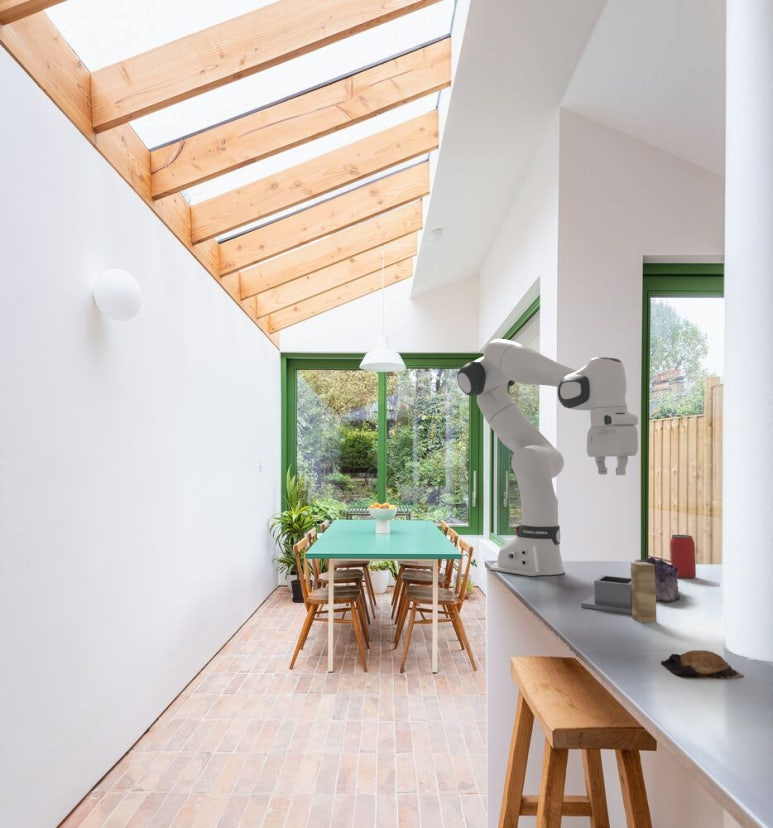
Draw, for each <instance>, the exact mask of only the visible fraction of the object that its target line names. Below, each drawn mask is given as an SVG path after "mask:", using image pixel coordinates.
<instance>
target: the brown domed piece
mask: <svg viewBox="0 0 773 828" xmlns="http://www.w3.org/2000/svg"><path fill="white" fill-rule="evenodd" d="M660 665H661V666H662V667H664V668H665V669H667V670H668V671H669V672H670V673H671V674H672V675H674V676H677V677H680V678H681V679H687V680H712V679H714V680H717V679H720V680H723V679H737V678H739V679H740V678H744V677H745V675H744V674H743V673H741V672H739V671H737V670H736V669H734V668H732V666H731V665H730V664H728V662H727V661H726V660H725V659H724V658H723V657H722V656H721V655H719V654H717V653H715V652H714V651H710V650H706V649H705V650H704V649H703V650H701V649H700V650H695V649H694V650H689V651H686V652H685V653H681V654H678V653H671V655H669V658H667V659H665V660H662V661H660Z"/></svg>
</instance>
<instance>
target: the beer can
mask: <svg viewBox="0 0 773 828" xmlns="http://www.w3.org/2000/svg"><path fill="white" fill-rule="evenodd" d="M669 541H670V543H669V549H670V552H669V553H670V565H672V566H676V567H678V570H677V572H678V579H685V580H686V579H687V580H689V579H691V580H692V579H694V578H696V576H697V570H696V569H697V568H696V566H697V565H696V545H695V544H696V543H695V541H694V539H693V535H689V534H688V535H687V534H671V538H670V540H669Z"/></svg>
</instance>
